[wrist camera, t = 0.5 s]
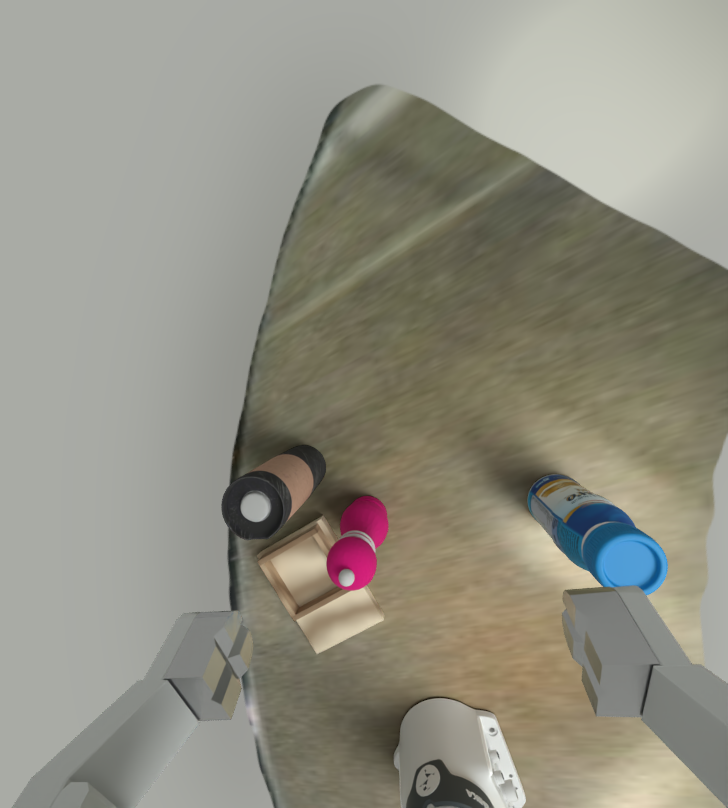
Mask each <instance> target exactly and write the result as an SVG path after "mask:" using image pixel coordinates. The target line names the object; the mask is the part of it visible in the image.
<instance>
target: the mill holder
mask: <svg viewBox="0 0 728 808" xmlns="http://www.w3.org/2000/svg"><path fill="white" fill-rule="evenodd" d="M337 541H338V538H337V536H336V535H335V533H334V532H333V530H332V528H331V527H330V525H329V524H328V522H327V520H326V519H325V517H324V515H323V516H321V517H320V518H318V519H316V520H314V521H313V522H311V523H309V524H308V525H306V526H304V527H302V528H301V529H299V530H297V531H296V532H294V533H292V534H290V535H289V536H287V537H285V538H283V539H282V540H280V541H278V542H277V543H275V544H273V545H271V546H270V547H268V548H266V549H265V550H263V551H261V552H260V553H259V554H258V555H257V557H258V559H259V560H258V561H257V562H258V564H259V565H260V567H261V568H262V570H263V572H264V573H265V575H266V577H267V578H268V580H269V581H270V583H271V585H272V586H273V588H274V590H275V591H276V593H277V594H278V596H279V598H280V599H281V601H282V603H283V604H284V606H285V608H286V609H287V611H288V612H289V614H290V616H291V617H292V619H293V621H297V622H298V624H299V626H300V627H301V629H302V631H303V632H304V634H305V635H306V637H307V639H308V640H309V642H310V644H311V645H312V647H313V648H314V650H315V652H316V653H317V654H319V653H320V652H322V651H324V650H326V649H328V648H330V647H332V646H334V645H336V644H338V643H340V642H342V641H344V640H346V639H348V638H350V637H352V636H354V635H355V634H357V633H359V632H361V631H363V630H365V629H367V628H369V627H371V626H373V625H375V624H377V623H379V622H381V621H383V620H384V613H383V611H382V609H381V608H380V606H379V605H378V603H377V601H376V600H375V598H374V596H373V595H372V593H371V592H370V590H369V588H368V587H367V585H366V586H365V587H363V588H361V589H359V590H355V591H349V590H344V589H341V588H340V587H338V586H337V585H335V584H334V583H333V582H332V580H331V579H330V577H329V575H328V572H327V566H326V562H327V556H328V553H329V551H330V549H331V547H332V546H333V545H334V544H335V543H336V542H337Z"/></svg>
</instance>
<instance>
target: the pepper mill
mask: <svg viewBox="0 0 728 808" xmlns="http://www.w3.org/2000/svg"><path fill="white" fill-rule="evenodd" d="M340 530H341V535H342V536H341V538H340V539H339V540H338V541H337V542H336V543H335V544H334V545H333V546H332V547H331V549H330V551H329V553H328V556H327V562H326V566H327V572H328V575H329V577H330V579H331V580H332V582H333V583H334V584H335V585H337V586H338V587H340V588H341V589H344V590H349V591H355V590H359V589H361V588H363V587H365V586H366V585H367V584H368V583H369V582H370V581H371V580H372V578H373V576H374V574H375V571H376V565H377V559H376V555H375V549H376V548H377V547H378V546H380V545H381V544H382V542H383V541H384V539H385V537H386V535H387V532H388V519H387V512H386V509H385V506H384V505H383V503H382V502H381V501H380V500H378V499H377V498H374V497H371V496H362V497H360V498H357V499H356V500H355V501H354V502H353V503H352V504H351V505H350V506H348V507H347V508H346V510H345V511H344V513H343V515H342V518H341V522H340Z"/></svg>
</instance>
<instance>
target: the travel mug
mask: <svg viewBox="0 0 728 808" xmlns="http://www.w3.org/2000/svg"><path fill="white" fill-rule="evenodd" d="M325 471H326V464H325V460H324V458H323V456H322V454H321V453H320V452H319V451H318V450H317V449H315V448H313V447H311V446H306V445H302V446H297V447H295V448H292V449H290V450H288V451H286V452H284V453H282V454H280V455H278V456H275V457H274V458H272V459H270V460H269V461H267V462H265V463H263V464H262V465H260V466H258V467H257V468H255V469H253V470H252V471H250V472H248V473H247V474H245V475H243V476H242V477H240V478H238V479H237V480H235V481H234V482H233V483H231V484H230V486H229V487H228V488H227V489H226V491H225V493H224V496H223V499H222V514H223V518H224V520H225V523H226V524H227V526H228V527H229V529H230V530H231V531H232V532H233V533H234V534H236V535H237V536H239V537H240V538H242V539H245V540H251V539H269V538H270V537H272V536H273V535H274V534H275V533H277V531H278V530H279V529H280V528H281V527H282V526H283V525H284V524H285V523H286V522H287V521H288V520H289V518H290V517H291V516H292V515H293V514H294V513H295V512H296V511H297V510H298V509H299V508H300V507H301V505H302V504H303V503H304V502H305V501H306V500H307V499H308V498H309V496H310V495H311V494H312V492H313V491H314V490H315V488H316V487H317V486H318V485H319V483H320V482H321V480H322V479H323V477H324V475H325Z"/></svg>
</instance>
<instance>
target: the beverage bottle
mask: <svg viewBox="0 0 728 808" xmlns="http://www.w3.org/2000/svg"><path fill="white" fill-rule="evenodd" d="M527 501H528V508H529V510H530V513H531V514H532V516H533V517H534V518H535V520H536V521H537V522H538V523H539V524H540V525H541V526H542V527H543V528H544V530H545V531H546V532H547V533H548V534H549V535H550V537H551V538H552V539H553V541H554V543H555V544H556V546H557V547H558V548H559V549H560V550H561V551H562V552H563V553H564V554H566V556H567V557H568V558H569V559H570V560H571V561H572V562H573V563H574V564H576V565H577V566H579V567H581V568H583V569H585V570H587V571H589V572H590V573H591V574H592V575H593V576H594V577H595V579H596V580H597V581H598V582H599V583H600V584H601V585H602V586H603V587H621V586H633V585H634V586H638V587H639V588H640V589H642V590H643V592H644V593H645V595H649V594H651V593H652V592H654V591H655V590H657V589H658V588H659V587H660V586H661V584H662V583H663V581H664V580H665V577H666V574H667V569H668V564H667V559H666V556H665V553H664V551H663V550H662V548H661V547H660V546H659V545H658V544H657V542H655V540H653V539H652V538H651V537H649V536H648V535H646V534H645V533H644V532H642V531H640V530H639V529H637V528H636V527H635V525H634V523H633V522H632V520H631V519H630V518H629V516H628V515H627V514H626V513H625V512H623V511H622V510H621V509H619V508H618V507H616V506H615V505H614V504H613V503H611V502H610V501H609V500H607V499H605V498H604V497H601V496H599V495H596V494H594V493H592V492H590V491H589V490H587V489H586V488H584V487H582V486H581V485H580V484H579V483H577V482H576V481H575V480H573V479H571V478H570V477H567V476H564V475H558V474H554V475H548V476H545V477H542V478H541V479H539V480H538V481H536V482H535V483H534V484H533V486H532V487H531V489H530V491H529V494H528V500H527Z"/></svg>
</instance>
